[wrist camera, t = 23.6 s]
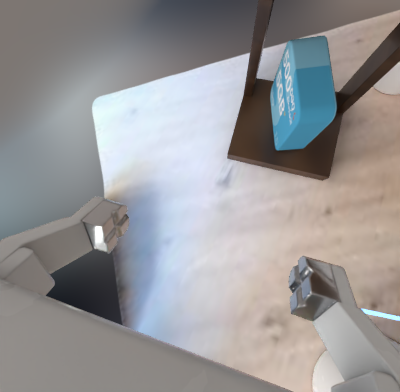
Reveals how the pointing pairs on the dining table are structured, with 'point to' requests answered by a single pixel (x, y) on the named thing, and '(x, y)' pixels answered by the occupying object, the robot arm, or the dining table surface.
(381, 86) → the alcohol
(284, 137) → the data package
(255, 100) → the shelf
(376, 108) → the dining table surface
